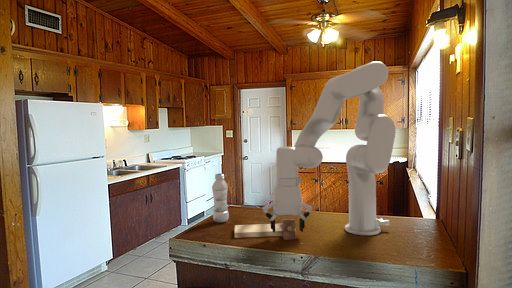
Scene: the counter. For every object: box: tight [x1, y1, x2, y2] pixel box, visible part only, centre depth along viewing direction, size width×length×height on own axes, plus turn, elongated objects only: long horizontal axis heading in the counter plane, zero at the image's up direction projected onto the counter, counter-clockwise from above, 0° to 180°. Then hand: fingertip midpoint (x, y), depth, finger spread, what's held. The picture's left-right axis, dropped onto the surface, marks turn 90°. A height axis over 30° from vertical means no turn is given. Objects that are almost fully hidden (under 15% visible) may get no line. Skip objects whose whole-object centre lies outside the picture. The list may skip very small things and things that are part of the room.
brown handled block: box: [281, 218, 296, 241], centre depth 119 cm, size 4×13×6 cm, turn 3°
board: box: [234, 223, 297, 239], centre depth 121 cm, size 22×9×2 cm, turn 93°
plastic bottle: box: [211, 173, 230, 223], centre depth 136 cm, size 6×7×20 cm
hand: (287, 230), depth 115 cm, fingers open, 9 cm apart
